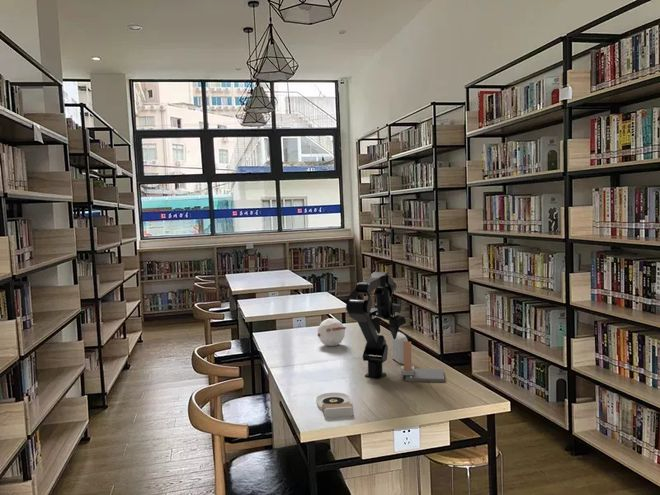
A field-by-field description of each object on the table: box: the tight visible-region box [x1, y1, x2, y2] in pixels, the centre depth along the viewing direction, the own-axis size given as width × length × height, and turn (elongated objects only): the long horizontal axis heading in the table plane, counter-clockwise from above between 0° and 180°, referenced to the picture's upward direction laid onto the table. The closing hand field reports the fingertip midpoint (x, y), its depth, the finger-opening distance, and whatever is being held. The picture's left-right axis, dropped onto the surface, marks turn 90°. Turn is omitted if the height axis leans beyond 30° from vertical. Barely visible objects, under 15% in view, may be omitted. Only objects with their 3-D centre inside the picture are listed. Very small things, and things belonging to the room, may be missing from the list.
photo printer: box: [390, 331, 409, 365], centre depth 230 cm, size 10×4×12 cm, turn 17°
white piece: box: [317, 318, 346, 347], centre depth 260 cm, size 14×25×14 cm, turn 16°
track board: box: [405, 368, 445, 383], centre depth 208 cm, size 14×12×1 cm
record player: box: [315, 392, 354, 419], centre depth 181 cm, size 12×3×20 cm
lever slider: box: [400, 341, 415, 376], centre depth 209 cm, size 5×7×12 cm
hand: (386, 335), depth 223 cm, fingers open, 9 cm apart
